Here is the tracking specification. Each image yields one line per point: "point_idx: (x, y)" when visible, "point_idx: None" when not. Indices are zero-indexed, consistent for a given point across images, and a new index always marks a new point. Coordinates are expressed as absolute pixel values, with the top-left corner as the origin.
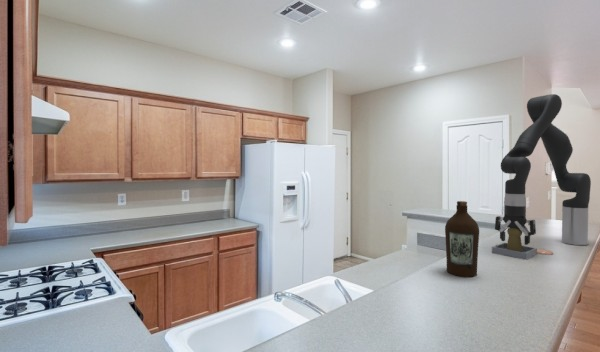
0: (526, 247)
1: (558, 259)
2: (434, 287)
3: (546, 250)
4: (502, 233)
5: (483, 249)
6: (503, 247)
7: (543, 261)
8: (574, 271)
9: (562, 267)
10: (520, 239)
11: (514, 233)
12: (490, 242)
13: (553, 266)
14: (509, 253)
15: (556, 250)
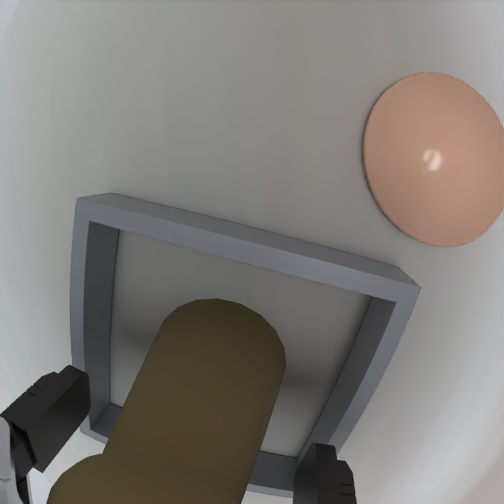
0: (314, 279)
1: (499, 344)
2: None
3: (470, 115)
4: (41, 463)
5: (36, 338)
6: (106, 256)
7: (398, 448)
8: (467, 490)
9: (449, 478)
10: (247, 485)
11: None
12: (24, 57)
13: (416, 488)
14: None
15: (500, 28)
